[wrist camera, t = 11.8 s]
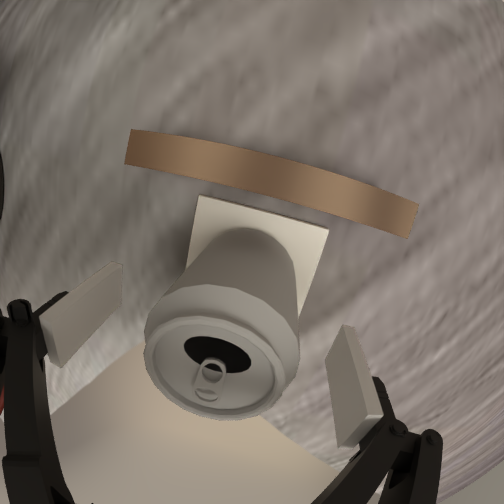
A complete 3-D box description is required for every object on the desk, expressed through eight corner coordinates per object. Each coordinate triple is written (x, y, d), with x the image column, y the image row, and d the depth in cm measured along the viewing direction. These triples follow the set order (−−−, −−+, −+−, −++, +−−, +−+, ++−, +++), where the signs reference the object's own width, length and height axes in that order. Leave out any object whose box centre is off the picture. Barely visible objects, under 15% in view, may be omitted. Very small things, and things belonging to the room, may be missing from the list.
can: (308, 241, 21) (330, 337, 9) (278, 323, 23) (269, 443, 12) (211, 214, 21) (130, 277, 9) (193, 299, 23) (130, 400, 12)
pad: (182, 304, 24) (179, 307, 24) (201, 194, 21) (198, 195, 20) (290, 334, 24) (290, 338, 23) (328, 228, 21) (329, 230, 20)
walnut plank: (171, 161, 20) (124, 163, 14) (176, 136, 20) (130, 129, 13) (371, 214, 20) (407, 239, 13) (379, 189, 19) (419, 204, 13)
